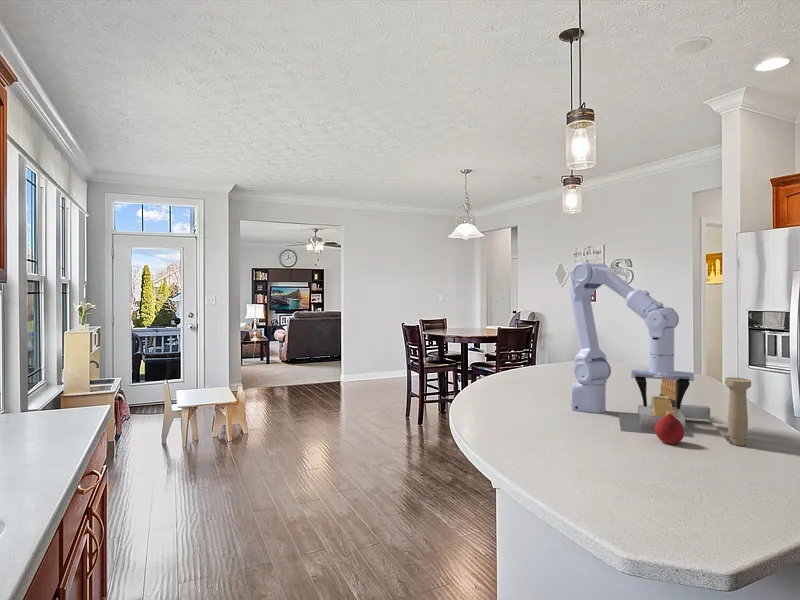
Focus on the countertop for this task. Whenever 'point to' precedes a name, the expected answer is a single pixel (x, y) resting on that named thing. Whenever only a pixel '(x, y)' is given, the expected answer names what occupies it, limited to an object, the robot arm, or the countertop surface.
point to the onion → (669, 429)
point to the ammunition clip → (669, 390)
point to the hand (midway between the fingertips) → (661, 407)
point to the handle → (737, 410)
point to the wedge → (661, 405)
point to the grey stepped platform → (648, 420)
